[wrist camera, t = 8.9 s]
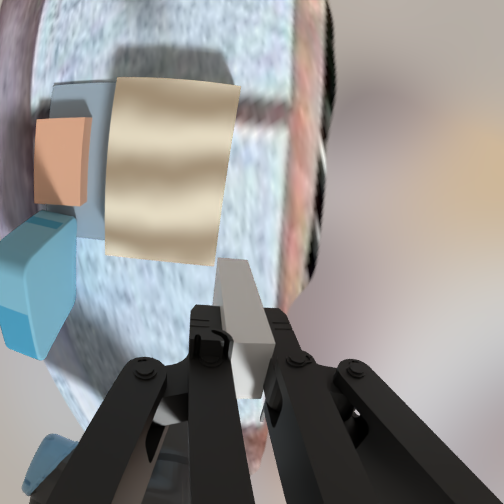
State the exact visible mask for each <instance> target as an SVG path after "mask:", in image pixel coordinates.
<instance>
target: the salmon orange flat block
mask: <svg viewBox="0 0 504 504" xmlns="http://www.w3.org/2000/svg"><path fill="white" fill-rule="evenodd" d="M91 126H92V117H78V118H51V119H37V123H36V135H35V153H34V203H37V204H53V205H67V206H81V205H83V204H84V203H86V202H87V183H88V161H89V147H90V135H91Z"/></svg>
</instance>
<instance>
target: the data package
mask: <svg viewBox="0 0 504 504" xmlns="http://www.w3.org/2000/svg"><path fill="white" fill-rule="evenodd" d="M76 235H77V221H76V219H75V217H73V216H68V215H64V214H59V213H55V212H50V211H46V210H41V211H39V212H38V213H36V214H35V215H33V216H32V217H31V218H29V219H28V220H27V221H25V222H24V223H22V224H21V225H20V226H18V227H17V228H16V229H15V230H13V231H12V232H11V233H9V234H8V235H7V236H6V237H4V238H3V239H2V240H1V241H0V326H1V330H2V334H3V337H4V341H5V344H6V346H7V347H8V348H9V349H12V350H14V351H17V352H19V353H22V354H24V355H27V356H30V357H32V358H35V359H38V360H44V359H45V358H46V356H47V354H48V352H49V350H50V348H51V346H52V344H53V342H54V340H55V339H56V337H57V335H58V333H59V331H60V329H61V327H62V325H63V324H64V322H65V320H66V318H67V316H68V315H69V313H70V311H71V309H72V308H73V305H74V303H75V298H76Z"/></svg>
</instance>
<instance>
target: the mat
mask: <svg viewBox="0 0 504 504" xmlns="http://www.w3.org/2000/svg"><path fill="white" fill-rule="evenodd" d="M115 88H116V82H105V83H81V84H67V85H56V86H53V91H52V98H51V106H50V114H49V119H51V118H78V117H92V126H91V135H90V147H89V161H88V183H87V202H86V203H84V204H83V205H81V206H67V205H53V204H46V211H50V212H55V213H59V214H64V215H68V216H73V217H75V219H76V221H77V235H76V237H79V238H89V239H98V240H105V186H106V167H107V153H108V142H109V132H110V123H111V115H112V107H113V100H114V94H115Z"/></svg>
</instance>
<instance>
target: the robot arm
mask: <svg viewBox="0 0 504 504" xmlns="http://www.w3.org/2000/svg"><path fill="white" fill-rule="evenodd" d="M263 389H264V393H265V397H266V399H265V403H264V406H263V409H262V413H261V416H260V422H263V420H264V417H265V418H266V422H267V426H268V430H269V435H270V439H271V443H272V447H273V451H274V455H275V459H276V464H277V468H278V472H279V476H280V480H281V483H282V488H283V491H284V496H285V499H286V503H287V504H503V503H502V502H501V501H500V500H499V499H498V498H497V497H496V496H495V495H494V494H493V493H492V492H491V491H490V490H489V489H488V488H487V487H486V486H485V485H484V483H483V482H481V480H480V479H479V478H478V477H477V476H476V475H475V474H474V473H473V472H472V471H471V470H470V469H469V468H468V467H467V466H466V465H465V464H464V463H463V462H462V461H461V460H460V459H459V458H458V457H457V456H456V455H455V454H454V453H453V452H452V451H451V450H450V449H449V448H448V446H446V445H445V443H444V442H443V441H442V440H441V439H440V438H439V437H438V436H437V435H436V434H435V433H434V432H433V431H432V430H431V429H430V428H429V427H428V426H427V425H426V424H425V423H424V422H423V421H422V420H421V419H420V418H419V417H418V416H417V415H416V414H415V413H414V412H413V411H412V410H411V409H410V408H409V407H408V406H407V405H406V404H405V402H404V401H403V400H402V399H401V398H400V397H399V396H398V395H397V394H396V393H395V392H394V391H393V390H392V389H391V388H390V387H389V386H388V385H387V384H386V383H385V382H384V381H383V380H382V379H381V378H380V377H379V376H378V375H377V374H376V373H375V372H374V371H373V370H372V369H371V368H370V367H369V366H368V365H367V364H365V363H364V362H361V361H359V360H355V359H346V360H343V361H341V362H340V363H339V365H338V367H337V368H333V367H327V366H322V365H318V364H316V362H315V360H314V358H313V357H312V356H311V355H310V354H308V353H307V352H305V351H302V350H301V347H300V345H299V343H298V341H297V338H296V336H295V334H294V331H293V330H292V327H291V324H290V322H289V320H288V318H287V315H286V314H285V313H284V312H282V311H281V310H280V309H279V308H263V305H262V302H261V299H260V296H259V293H258V290H257V287H256V284H255V281H254V278H253V275H252V272H251V269H250V266H249V263H248V260H242V259H230V258H218V260H217V269H216V278H215V287H214V296H213V306H210V305H195V306H194V308H193V309H192V310H191V315H190V334H189V353H188V355H187V357H186V358H185V359H184V360H183V361H181V362H179V363H177V364H173V365H168V366H164V365H163V364H162V363H161V362H160V361H159V360H156V359H154V358H150V357H139V358H135V359H133V360H130V361H129V362H128V363H127V364H126V365H125V366H124V368H123V370H122V371H121V373H120V374H119V376H118V378H117V379H116V381H115V382H114V384H113V386H112V387H111V389H110V391H109V392H108V394H107V396H106V397H105V399H104V400H103V402H102V404H101V405H100V407H99V409H98V410H97V412H96V414H95V416H94V417H93V419H92V421H91V422H90V424H89V426H88V427H87V429H86V431H85V433H84V434H83V436H82V438H81V440H80V442H77V441H76V442H74V441H72V440H70V439H67V438H65V437H62V436H60V435H58V434H49V435H47V436H46V437H45V438H44V439H43V441H42V442H41V444H40V446H39V448H38V450H37V452H36V453H35V455H34V457H33V460H32V462H31V464H30V466H29V468H28V471H27V474H26V477H25V480H24V482H23V485H22V490H23V492H24V493H25V494H26V495H27V496H31V497H30V503H29V504H255V501H254V496H253V491H252V485H251V480H250V474H249V469H248V463H247V458H246V452H245V447H244V441H243V435H242V429H241V423H240V417H239V411H238V404H237V399H261V396H262V393H263ZM355 409H356V410H357V411H358V412H359V413H360V416H359V415H357V414H356V413H355V412H354V411H355Z"/></svg>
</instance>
